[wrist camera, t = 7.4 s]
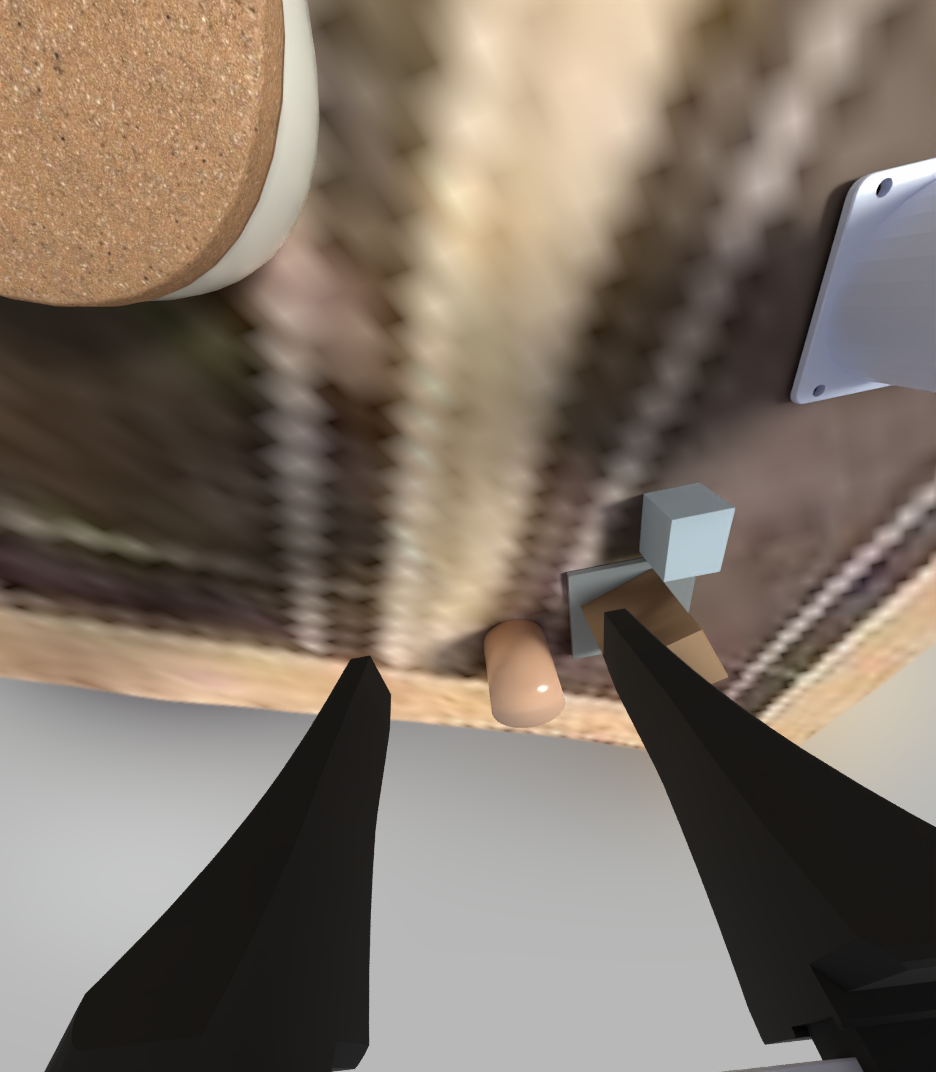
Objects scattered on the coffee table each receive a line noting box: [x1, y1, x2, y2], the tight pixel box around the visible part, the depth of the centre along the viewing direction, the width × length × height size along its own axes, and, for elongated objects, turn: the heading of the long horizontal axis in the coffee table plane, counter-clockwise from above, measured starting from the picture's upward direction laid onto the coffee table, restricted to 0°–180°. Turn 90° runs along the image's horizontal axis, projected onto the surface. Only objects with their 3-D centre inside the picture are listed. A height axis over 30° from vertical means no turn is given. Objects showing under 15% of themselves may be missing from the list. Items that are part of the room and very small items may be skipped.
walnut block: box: [581, 568, 728, 684], centre depth 22 cm, size 5×5×5 cm
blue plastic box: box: [639, 483, 735, 582], centre depth 20 cm, size 3×4×3 cm
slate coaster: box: [567, 558, 696, 659], centre depth 24 cm, size 8×8×1 cm
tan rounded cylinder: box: [484, 620, 565, 728], centre depth 23 cm, size 4×4×5 cm
